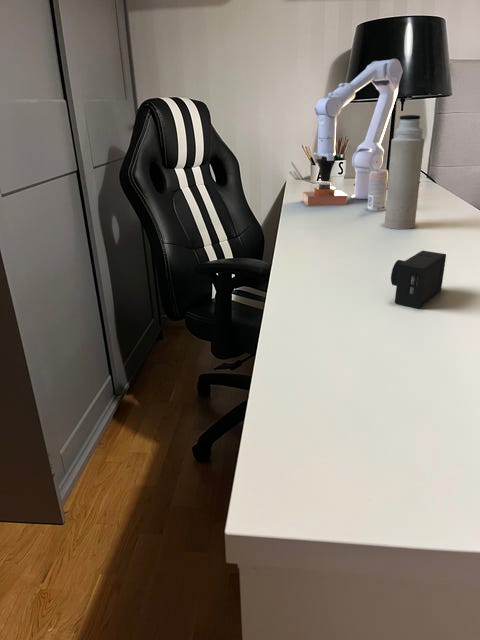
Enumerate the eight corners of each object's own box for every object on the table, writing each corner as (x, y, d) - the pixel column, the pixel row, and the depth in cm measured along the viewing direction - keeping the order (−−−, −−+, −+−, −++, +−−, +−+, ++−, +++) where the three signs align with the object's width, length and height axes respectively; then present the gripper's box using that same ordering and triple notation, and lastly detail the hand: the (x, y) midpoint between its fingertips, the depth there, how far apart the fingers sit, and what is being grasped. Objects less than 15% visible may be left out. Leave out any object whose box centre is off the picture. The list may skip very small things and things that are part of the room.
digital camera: (411, 285, 92) (415, 248, 90) (441, 291, 89) (446, 253, 86) (387, 302, 85) (391, 262, 82) (419, 309, 82) (424, 268, 79)
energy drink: (383, 208, 160) (386, 169, 155) (386, 211, 155) (389, 171, 150) (366, 208, 160) (369, 169, 155) (368, 211, 155) (371, 171, 151)
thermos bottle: (413, 222, 139) (424, 114, 128) (416, 229, 132) (429, 115, 121) (383, 222, 141) (392, 115, 130) (385, 228, 134) (395, 115, 123)
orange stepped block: (339, 199, 175) (340, 185, 173) (346, 204, 166) (347, 189, 164) (302, 201, 175) (303, 186, 173) (307, 206, 166) (308, 191, 164)
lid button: (329, 188, 171) (329, 182, 170) (331, 189, 167) (332, 184, 166) (317, 188, 170) (317, 183, 170) (320, 190, 167) (320, 184, 166)
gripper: (310, 137, 169) (309, 178, 174) (318, 139, 155) (317, 184, 161) (331, 136, 169) (329, 177, 174) (341, 139, 156) (339, 183, 161)
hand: (325, 181), depth 168 cm, fingers closed
